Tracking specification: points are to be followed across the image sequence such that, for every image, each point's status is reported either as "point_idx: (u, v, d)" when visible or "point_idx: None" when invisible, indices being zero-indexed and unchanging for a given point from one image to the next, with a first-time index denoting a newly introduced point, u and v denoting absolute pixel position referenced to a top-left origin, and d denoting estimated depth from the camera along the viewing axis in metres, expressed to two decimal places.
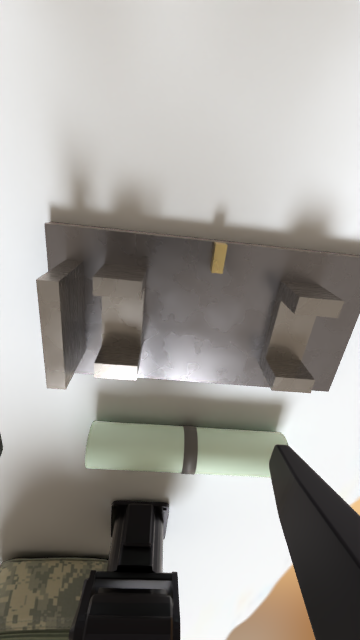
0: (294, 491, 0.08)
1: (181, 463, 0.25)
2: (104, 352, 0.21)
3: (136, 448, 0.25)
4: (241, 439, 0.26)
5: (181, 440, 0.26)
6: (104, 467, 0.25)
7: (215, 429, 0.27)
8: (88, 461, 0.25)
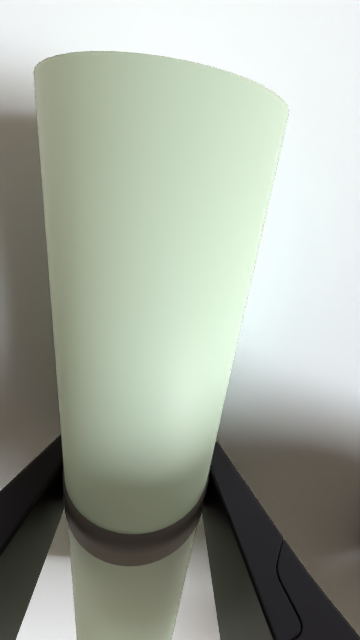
0: (211, 487, 0.08)
1: (109, 563, 0.07)
2: None
3: (81, 614, 0.09)
4: None
5: None
6: None
7: None
8: None
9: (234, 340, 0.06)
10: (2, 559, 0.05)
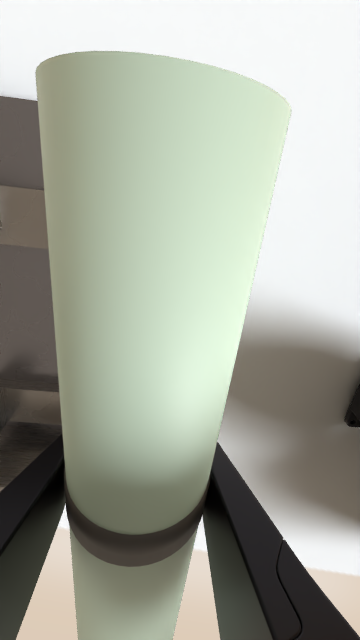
0: (211, 487, 0.08)
1: (110, 564, 0.07)
2: None
3: (82, 614, 0.09)
4: None
5: None
6: None
7: None
8: None
9: (236, 340, 0.06)
10: (2, 559, 0.05)
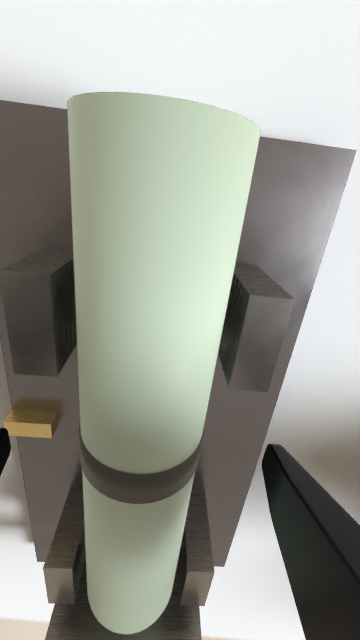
0: (285, 491, 0.08)
1: (118, 502, 0.08)
2: (179, 563, 0.15)
3: (92, 558, 0.10)
4: None
5: None
6: (142, 611, 0.11)
7: None
8: (121, 630, 0.12)
9: (221, 310, 0.07)
10: None
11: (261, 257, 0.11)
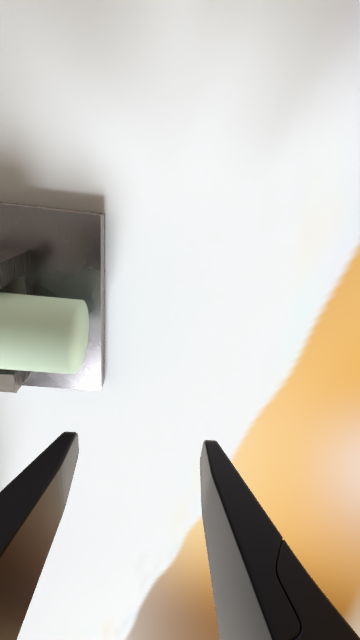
0: (210, 487, 0.08)
1: None
2: None
3: None
4: None
5: None
6: None
7: None
8: None
9: None
10: (3, 559, 0.05)
11: None
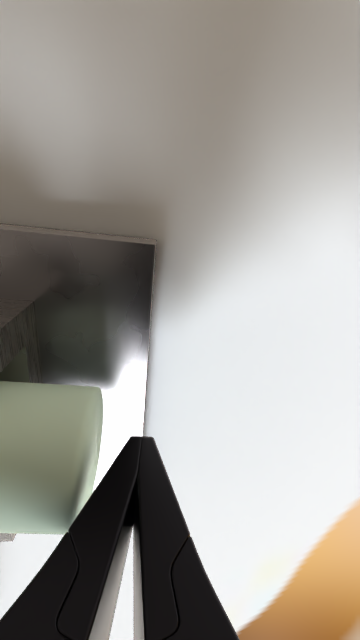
0: None
1: None
2: None
3: None
4: None
5: None
6: None
7: None
8: None
9: None
10: (112, 562, 0.06)
11: None
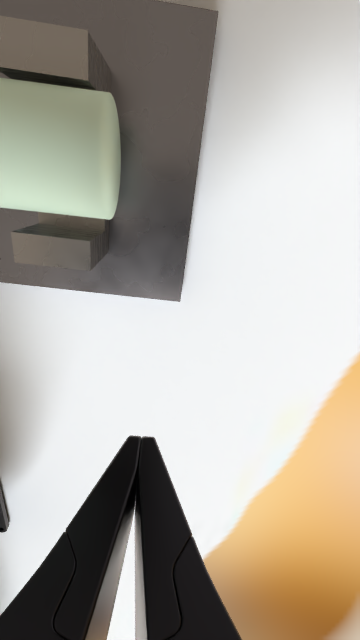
0: (137, 484, 0.08)
1: None
2: None
3: None
4: None
5: None
6: None
7: None
8: None
9: None
10: (110, 562, 0.06)
11: (114, 253, 0.15)
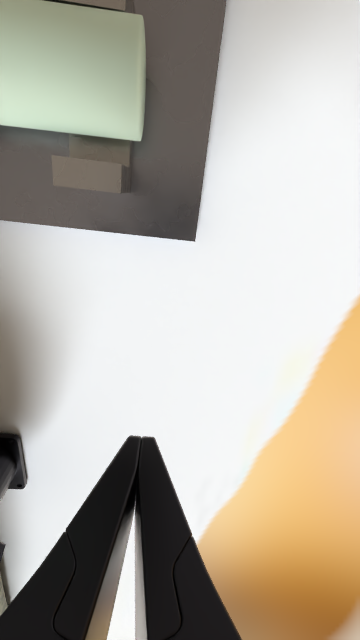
0: (137, 484, 0.08)
1: None
2: None
3: None
4: None
5: None
6: None
7: None
8: None
9: (37, 106, 0.11)
10: (110, 562, 0.06)
11: (135, 193, 0.16)
